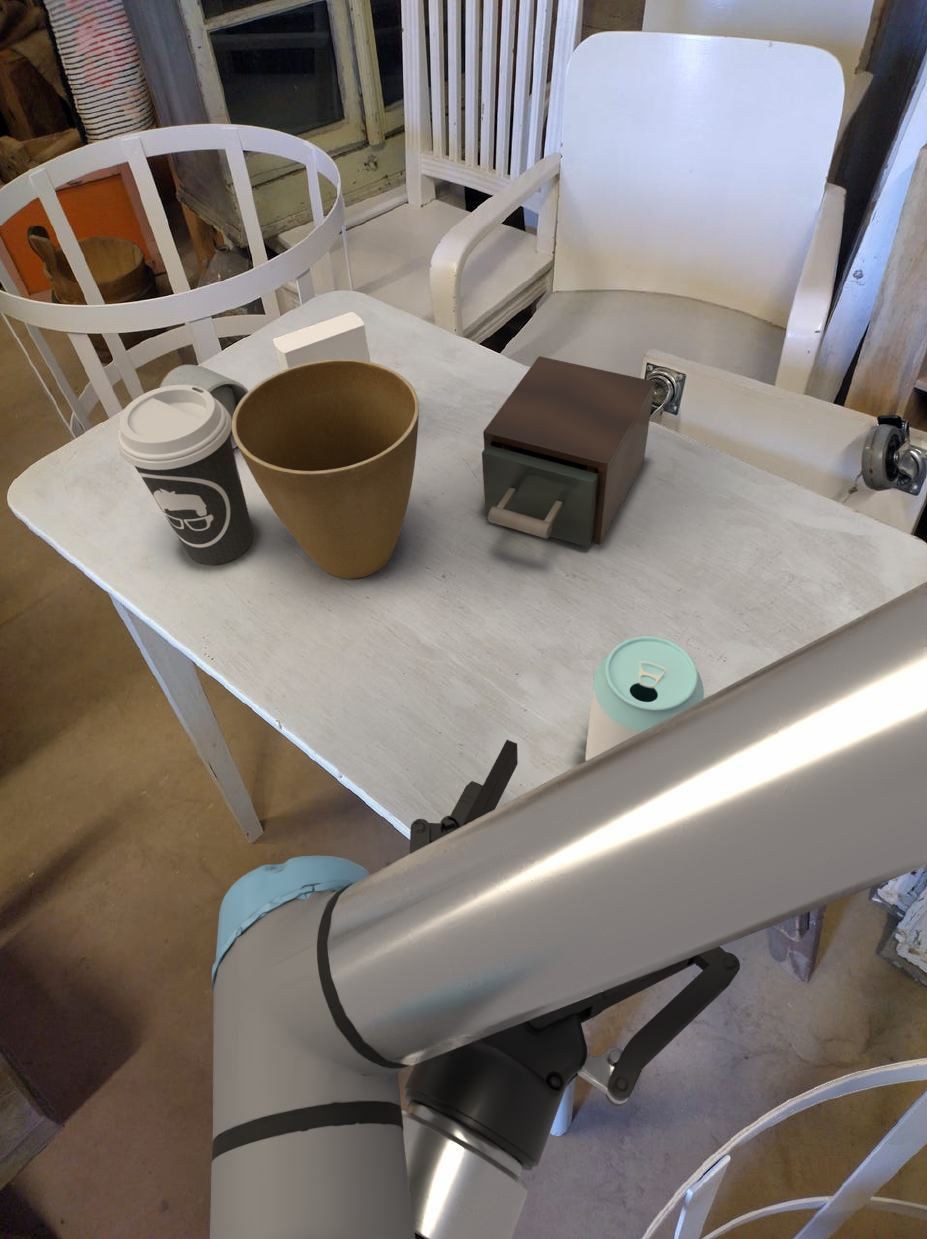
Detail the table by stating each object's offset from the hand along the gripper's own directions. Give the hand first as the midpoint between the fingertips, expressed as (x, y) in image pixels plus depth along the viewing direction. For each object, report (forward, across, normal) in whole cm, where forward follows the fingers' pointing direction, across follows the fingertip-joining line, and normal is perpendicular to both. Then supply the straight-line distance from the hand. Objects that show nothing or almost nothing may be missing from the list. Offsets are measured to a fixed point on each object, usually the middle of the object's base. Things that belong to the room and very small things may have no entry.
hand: (609, 789), depth 52 cm
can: (+6, 0, -7) cm, 9 cm away
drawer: (+29, -16, -6) cm, 33 cm away
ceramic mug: (+25, -55, -7) cm, 61 cm away
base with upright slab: (+32, -42, -7) cm, 53 cm away
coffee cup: (+13, -44, -7) cm, 46 cm away
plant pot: (+17, -31, -7) cm, 36 cm away
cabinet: (+33, -16, -7) cm, 37 cm away
